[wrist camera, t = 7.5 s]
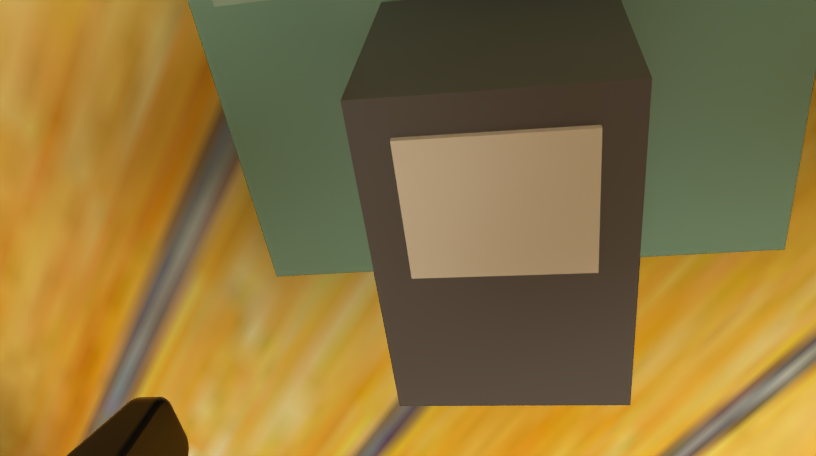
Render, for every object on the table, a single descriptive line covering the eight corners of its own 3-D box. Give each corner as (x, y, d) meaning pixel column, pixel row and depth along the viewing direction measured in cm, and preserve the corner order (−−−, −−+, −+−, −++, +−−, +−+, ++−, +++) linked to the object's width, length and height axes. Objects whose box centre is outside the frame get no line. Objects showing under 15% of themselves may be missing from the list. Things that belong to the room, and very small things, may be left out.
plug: (604, 261, 16) (631, 409, 12) (420, 267, 16) (399, 410, 13) (613, -20, 12) (653, 81, 9) (380, 2, 13) (339, 103, 10)
